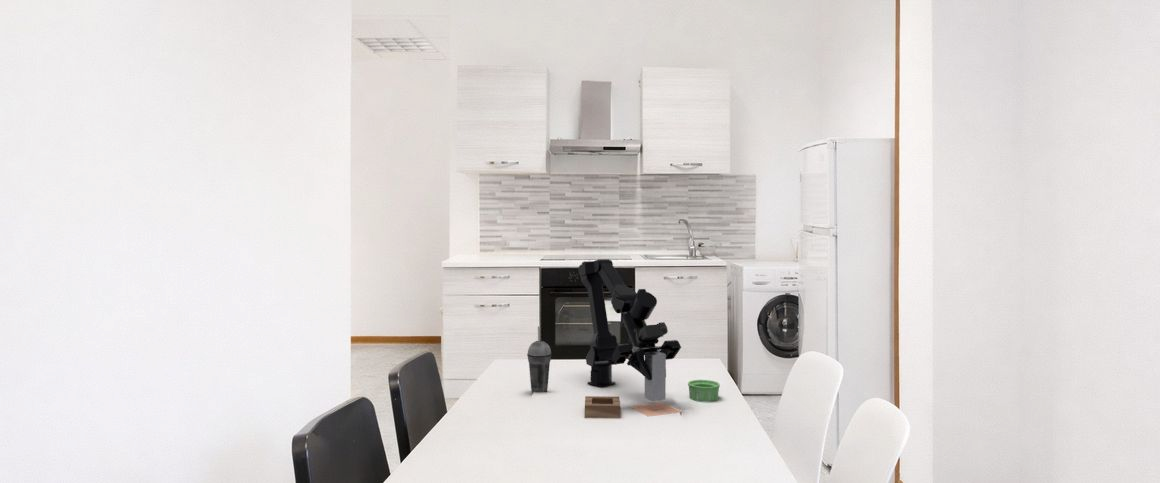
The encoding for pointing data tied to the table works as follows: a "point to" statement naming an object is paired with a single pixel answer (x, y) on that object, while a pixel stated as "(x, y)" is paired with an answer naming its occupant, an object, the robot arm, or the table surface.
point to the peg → (655, 376)
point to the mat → (655, 409)
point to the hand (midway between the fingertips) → (657, 378)
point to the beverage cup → (539, 364)
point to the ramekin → (703, 390)
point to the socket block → (602, 407)
